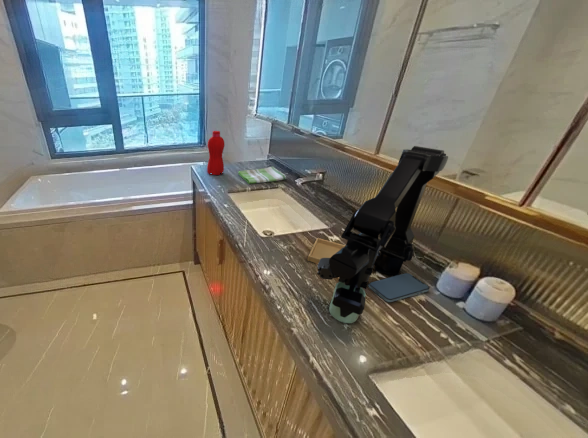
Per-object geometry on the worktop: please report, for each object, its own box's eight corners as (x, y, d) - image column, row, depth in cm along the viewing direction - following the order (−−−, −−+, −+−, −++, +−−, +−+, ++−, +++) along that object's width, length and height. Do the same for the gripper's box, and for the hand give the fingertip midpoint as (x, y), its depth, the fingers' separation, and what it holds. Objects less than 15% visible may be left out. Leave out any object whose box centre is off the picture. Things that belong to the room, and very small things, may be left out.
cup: (358, 309, 76) (366, 286, 72) (355, 327, 71) (364, 303, 67) (331, 300, 79) (338, 277, 75) (326, 316, 74) (333, 293, 70)
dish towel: (286, 180, 160) (287, 174, 158) (249, 184, 155) (249, 178, 153) (272, 171, 175) (272, 165, 173) (237, 174, 170) (237, 169, 168)
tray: (362, 254, 97) (363, 250, 96) (357, 276, 88) (359, 271, 87) (316, 242, 105) (317, 237, 104) (307, 260, 95) (308, 256, 94)
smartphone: (367, 282, 83) (407, 271, 86) (365, 286, 84) (406, 275, 87) (389, 300, 77) (432, 287, 80) (387, 304, 78) (429, 292, 81)
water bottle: (225, 170, 176) (227, 129, 164) (220, 176, 167) (221, 133, 155) (211, 169, 179) (212, 128, 167) (205, 174, 170) (205, 132, 158)
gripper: (331, 231, 77) (320, 276, 84) (315, 269, 63) (304, 318, 71) (378, 243, 72) (361, 290, 79) (372, 286, 58) (353, 338, 65)
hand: (344, 307), depth 74 cm, fingers closed on cup, 7 cm apart
